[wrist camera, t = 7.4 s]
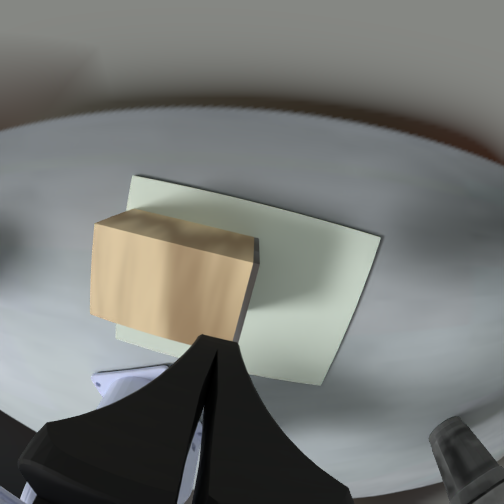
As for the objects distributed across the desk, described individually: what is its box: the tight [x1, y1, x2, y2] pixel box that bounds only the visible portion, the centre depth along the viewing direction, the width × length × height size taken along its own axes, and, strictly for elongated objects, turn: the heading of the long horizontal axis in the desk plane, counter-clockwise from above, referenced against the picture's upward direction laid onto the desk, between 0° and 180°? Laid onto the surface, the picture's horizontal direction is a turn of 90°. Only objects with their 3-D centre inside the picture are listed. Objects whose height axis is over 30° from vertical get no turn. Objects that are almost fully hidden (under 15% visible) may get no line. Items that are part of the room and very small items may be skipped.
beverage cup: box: [429, 417, 504, 504], centre depth 14 cm, size 7×7×20 cm
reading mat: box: [116, 176, 381, 386], centre depth 19 cm, size 16×12×1 cm
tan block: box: [90, 209, 260, 345], centre depth 16 cm, size 5×5×8 cm
